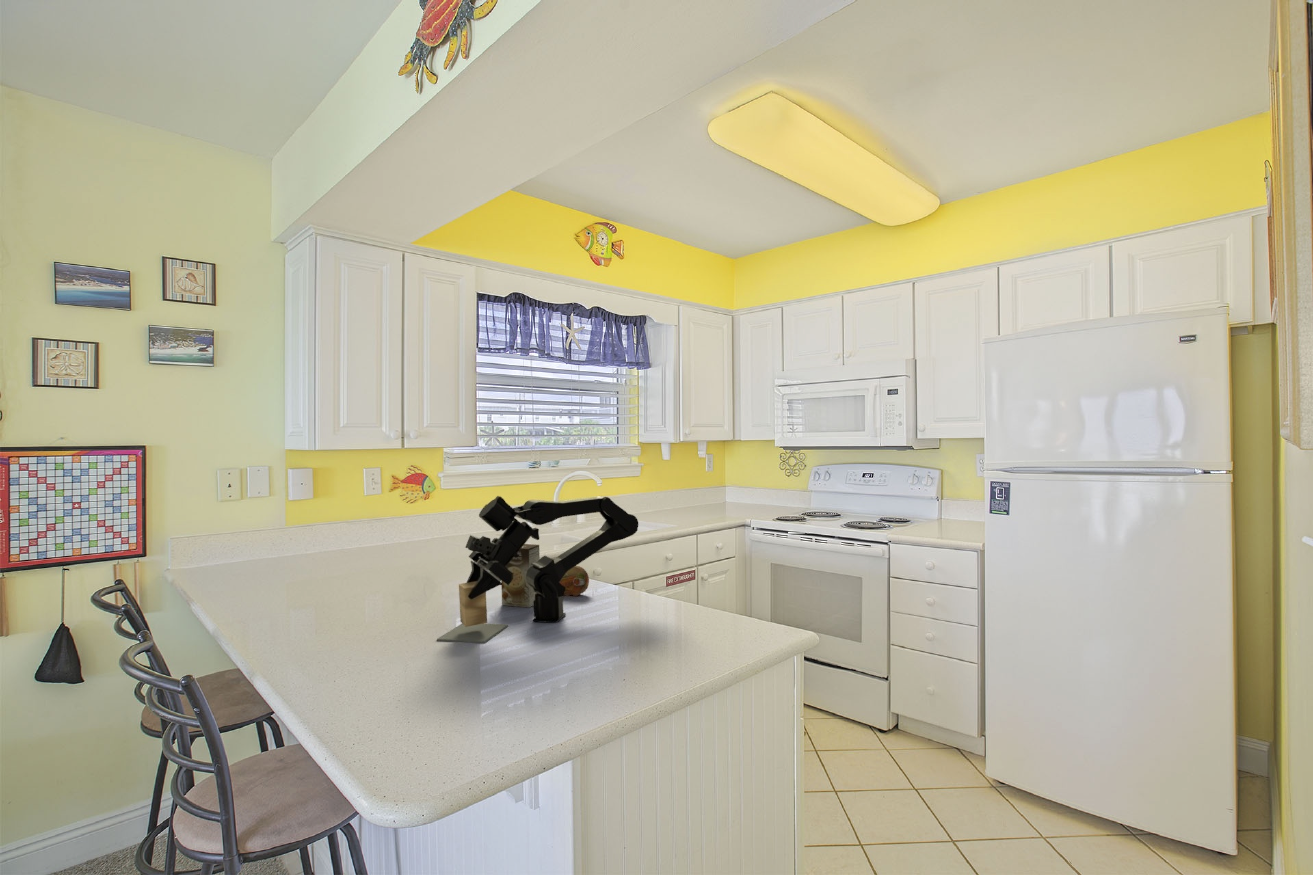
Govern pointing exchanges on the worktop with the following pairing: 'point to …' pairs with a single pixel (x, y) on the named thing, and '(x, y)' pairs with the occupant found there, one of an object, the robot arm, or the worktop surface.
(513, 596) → the coffee box
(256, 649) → the worktop surface
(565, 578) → the tin
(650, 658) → the worktop surface
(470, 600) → the oak block
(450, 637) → the slate mat
